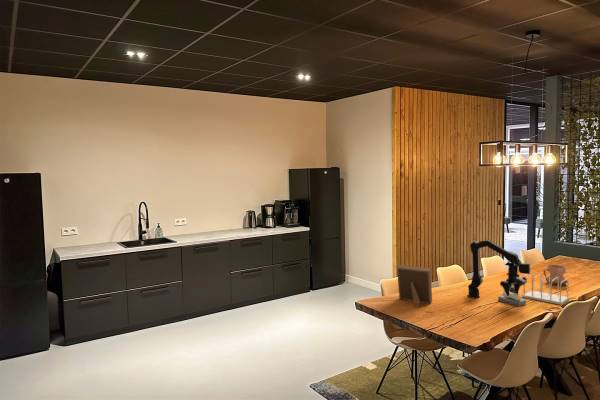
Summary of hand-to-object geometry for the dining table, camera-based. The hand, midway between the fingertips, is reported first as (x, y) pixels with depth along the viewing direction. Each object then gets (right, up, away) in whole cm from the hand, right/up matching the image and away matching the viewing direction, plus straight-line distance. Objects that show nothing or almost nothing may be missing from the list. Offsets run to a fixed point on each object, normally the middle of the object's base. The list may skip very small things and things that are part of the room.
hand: (512, 294), depth 302 cm
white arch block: (0, -5, +1) cm, 6 cm away
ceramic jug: (+55, -1, +45) cm, 71 cm away
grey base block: (0, -5, +1) cm, 6 cm away
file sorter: (+27, -5, +8) cm, 29 cm away
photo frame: (-67, -6, +2) cm, 67 cm away
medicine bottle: (+7, -4, +17) cm, 18 cm away
